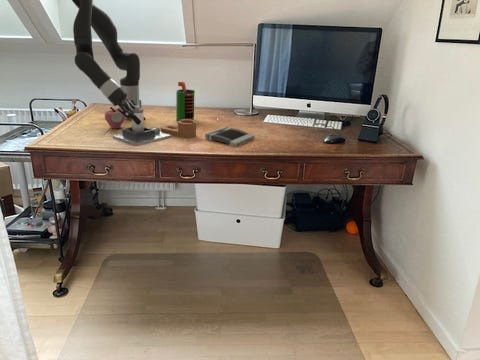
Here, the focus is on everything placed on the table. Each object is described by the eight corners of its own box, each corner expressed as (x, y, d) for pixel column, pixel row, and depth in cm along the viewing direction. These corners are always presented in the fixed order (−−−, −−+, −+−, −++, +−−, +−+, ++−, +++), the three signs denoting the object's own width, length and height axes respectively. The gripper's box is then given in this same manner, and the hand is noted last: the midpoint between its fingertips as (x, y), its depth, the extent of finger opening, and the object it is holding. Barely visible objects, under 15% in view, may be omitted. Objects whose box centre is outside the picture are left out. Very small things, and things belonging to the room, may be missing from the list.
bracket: (199, 135, 183) (199, 121, 180) (189, 139, 176) (189, 124, 173) (167, 129, 189) (167, 115, 187) (157, 133, 183) (156, 118, 180)
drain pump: (139, 129, 175) (138, 104, 171) (146, 132, 172) (145, 106, 168) (130, 131, 172) (128, 105, 167) (136, 134, 169) (135, 107, 164)
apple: (106, 130, 181) (105, 109, 178) (104, 126, 189) (102, 105, 185) (127, 129, 185) (126, 108, 182) (124, 124, 193) (123, 104, 189)
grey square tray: (226, 126, 189) (255, 129, 181) (226, 135, 190) (255, 139, 182) (205, 133, 175) (235, 137, 167) (205, 143, 177) (235, 147, 169)
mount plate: (149, 129, 186) (149, 121, 185) (171, 137, 177) (171, 128, 175) (112, 137, 172) (112, 128, 171) (134, 145, 163) (133, 136, 161)
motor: (190, 123, 201) (190, 84, 193) (173, 122, 202) (172, 82, 194) (196, 119, 210) (196, 81, 202) (180, 117, 211) (179, 80, 204)
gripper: (112, 89, 159) (142, 120, 162) (125, 83, 172) (152, 113, 175) (100, 101, 161) (130, 131, 165) (114, 95, 174) (141, 123, 178)
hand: (141, 121), depth 170 cm, fingers closed on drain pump, 5 cm apart
